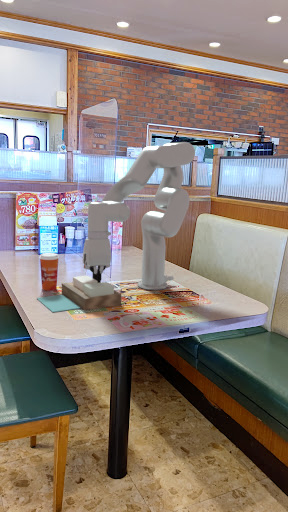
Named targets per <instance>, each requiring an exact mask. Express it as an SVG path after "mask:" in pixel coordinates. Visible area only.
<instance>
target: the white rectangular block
mask: <svg viewBox="0 0 288 512" xmlns="http://www.w3.org/2000/svg"><path fill="white" fill-rule="evenodd" d="M72 282H73V285H74V286H76V287H77V288H79V289H80V290H82V291H84V285H85V284H93V283H98V281H97V280H95V279H93V277H91V276H89V275H78V276H73V277H72Z"/></svg>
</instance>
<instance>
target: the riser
mask: <svg viewBox="0 0 288 512" xmlns="http://www.w3.org/2000/svg"><path fill="white" fill-rule="evenodd" d="M61 295H64V296H65V297H67V298H68V299H70V300H71V301H72V302H74V303H75V304H77V305H78V306H79V307H81V308H80V309H82V310H84V311H90V310H95V309H102V307H103V308H108V307H109V308H110V307H114V306H121V305H122V293H120V292H118V291H117V290H115V289H114V294H111V295H104V296H96V297H89V296H88V295H86V294H85V293H84V291H82V290H80V289H79V288H77V287H76V286H74V285H73V281H72V282H71V281H70V282H62V283H61Z"/></svg>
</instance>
